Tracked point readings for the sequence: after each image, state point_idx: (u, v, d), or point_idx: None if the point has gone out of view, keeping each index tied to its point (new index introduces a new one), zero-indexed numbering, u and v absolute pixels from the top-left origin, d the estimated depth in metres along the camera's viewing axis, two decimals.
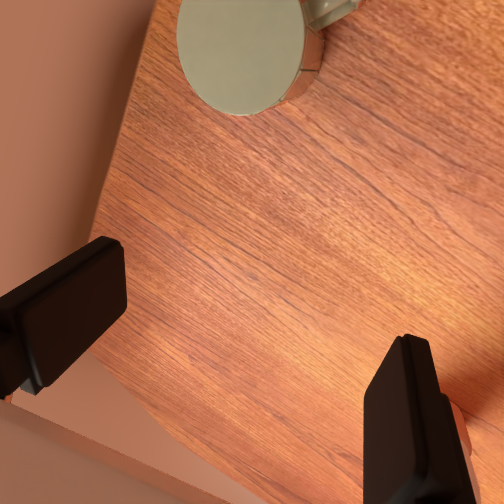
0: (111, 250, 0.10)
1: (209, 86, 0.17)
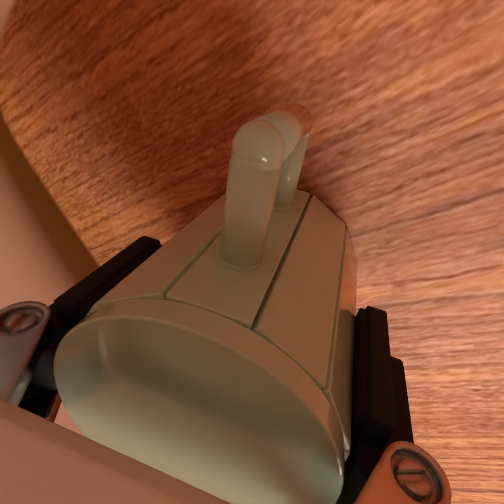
0: (154, 249, 0.10)
1: None
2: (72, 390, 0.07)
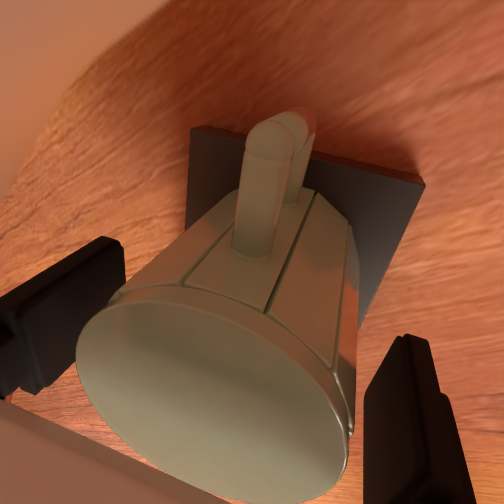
0: (111, 250, 0.10)
1: (229, 484, 0.08)
2: (92, 374, 0.08)
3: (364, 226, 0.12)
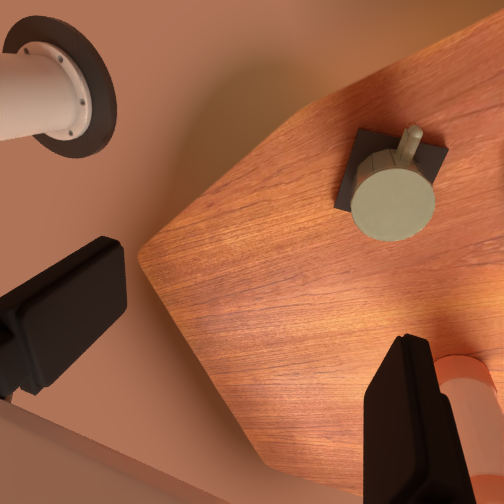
0: (111, 250, 0.10)
1: (394, 233, 0.29)
2: (359, 197, 0.28)
3: (425, 165, 0.33)
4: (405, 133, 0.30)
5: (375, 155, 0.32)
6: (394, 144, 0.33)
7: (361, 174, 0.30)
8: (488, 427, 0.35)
